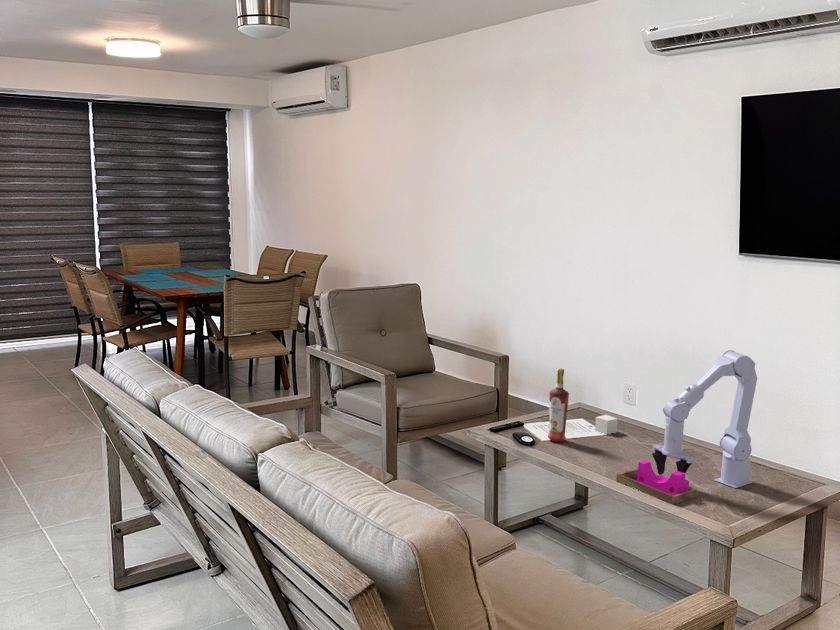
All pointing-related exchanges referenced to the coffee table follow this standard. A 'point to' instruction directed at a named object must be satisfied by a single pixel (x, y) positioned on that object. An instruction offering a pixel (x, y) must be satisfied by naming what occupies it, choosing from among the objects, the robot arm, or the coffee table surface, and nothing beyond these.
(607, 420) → the white cube
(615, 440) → the coffee table surface
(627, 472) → the tray
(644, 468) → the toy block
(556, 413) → the liquor
